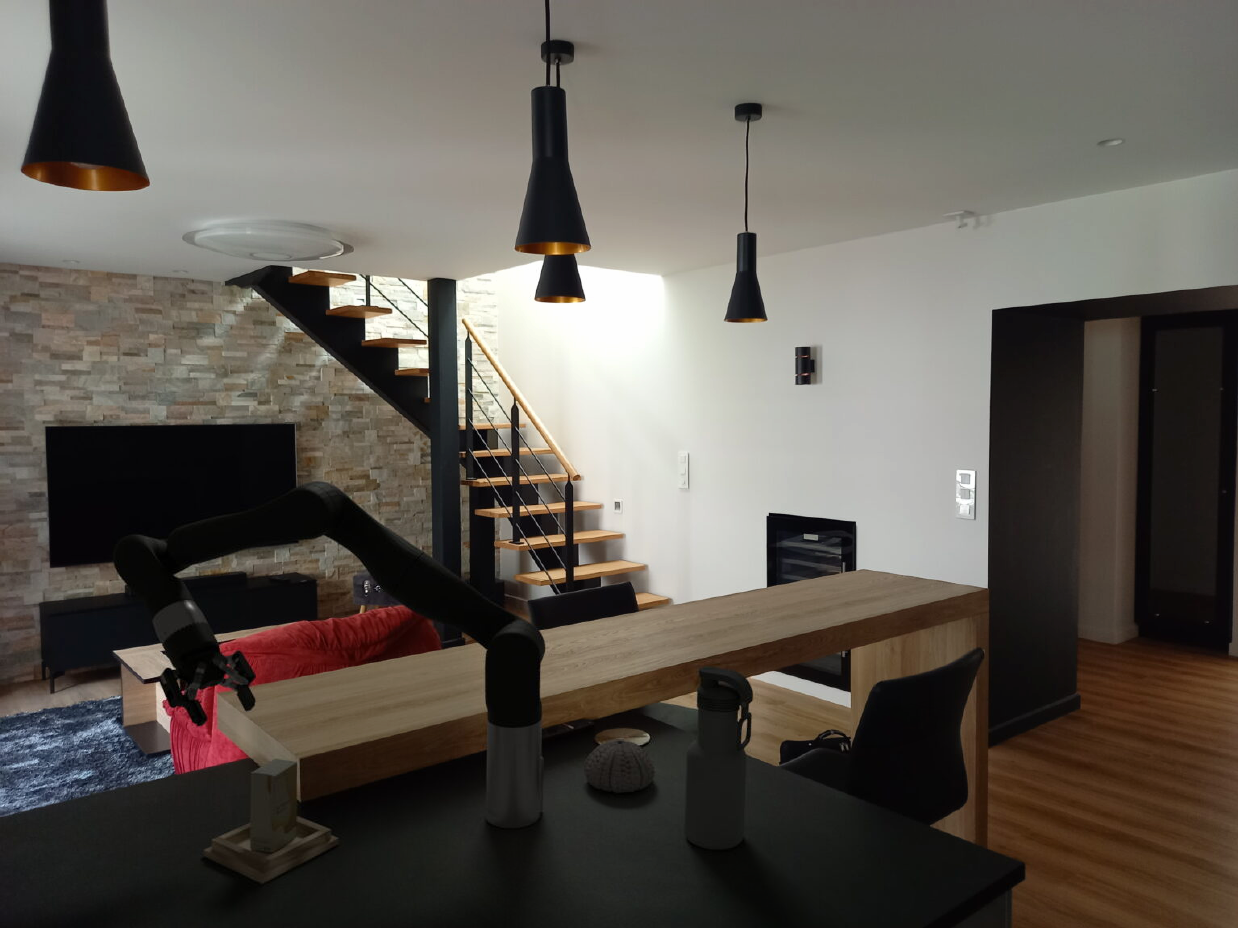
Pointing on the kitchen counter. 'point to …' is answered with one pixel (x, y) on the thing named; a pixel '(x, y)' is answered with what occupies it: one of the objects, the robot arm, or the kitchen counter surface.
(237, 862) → the tray
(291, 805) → the skincare box
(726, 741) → the water bottle
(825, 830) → the kitchen counter surface
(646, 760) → the sea urchin shell
